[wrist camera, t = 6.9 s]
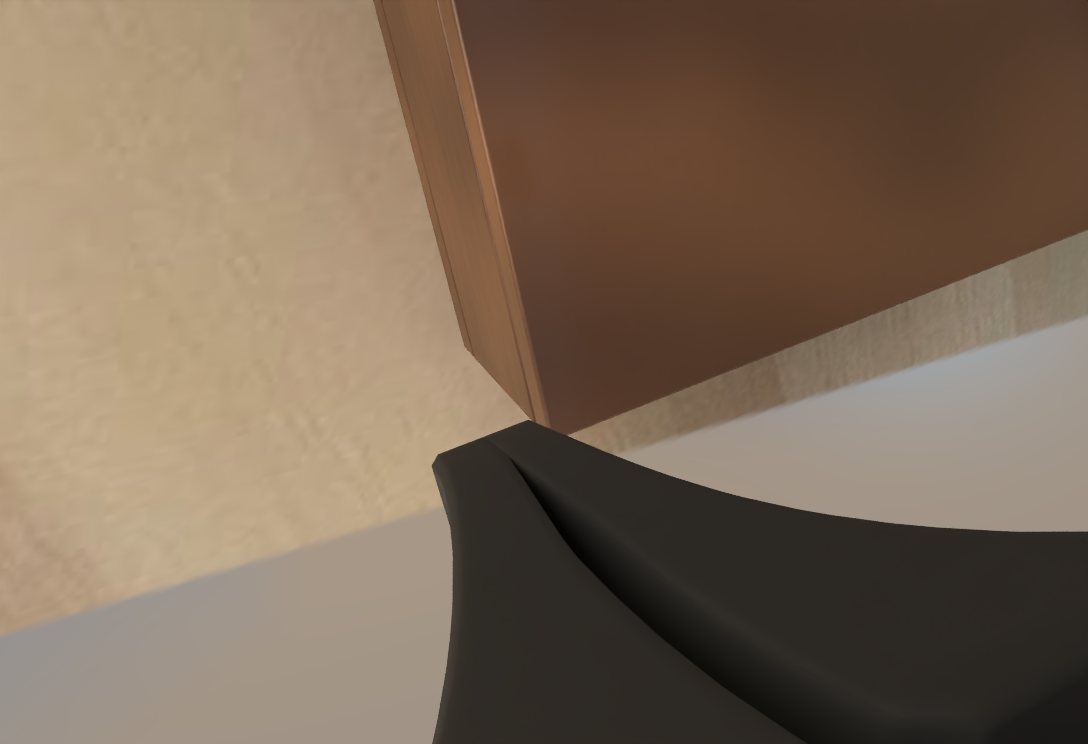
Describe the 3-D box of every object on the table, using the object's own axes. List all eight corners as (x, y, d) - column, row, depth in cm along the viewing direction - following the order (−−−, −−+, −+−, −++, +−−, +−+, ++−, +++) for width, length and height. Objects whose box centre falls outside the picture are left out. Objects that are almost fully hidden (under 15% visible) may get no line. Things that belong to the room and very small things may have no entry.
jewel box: (305, -254, 16) (354, -351, 12) (957, -347, 20) (1163, -443, 16) (464, 347, 21) (535, 425, 17) (945, 178, 25) (1095, 208, 21)
